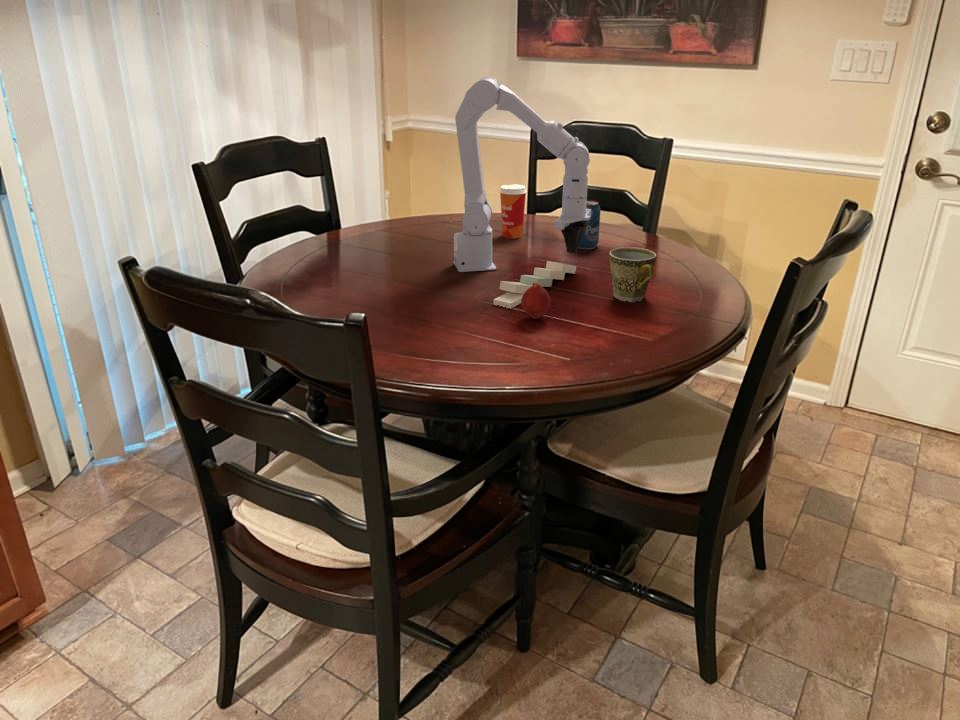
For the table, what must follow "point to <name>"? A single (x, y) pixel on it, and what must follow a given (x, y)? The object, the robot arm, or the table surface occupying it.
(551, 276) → the domino
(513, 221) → the paper cup
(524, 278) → the domino
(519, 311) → the table surface
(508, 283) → the domino
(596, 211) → the soda can
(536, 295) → the onion
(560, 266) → the domino
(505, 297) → the domino
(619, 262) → the ceramic cup
